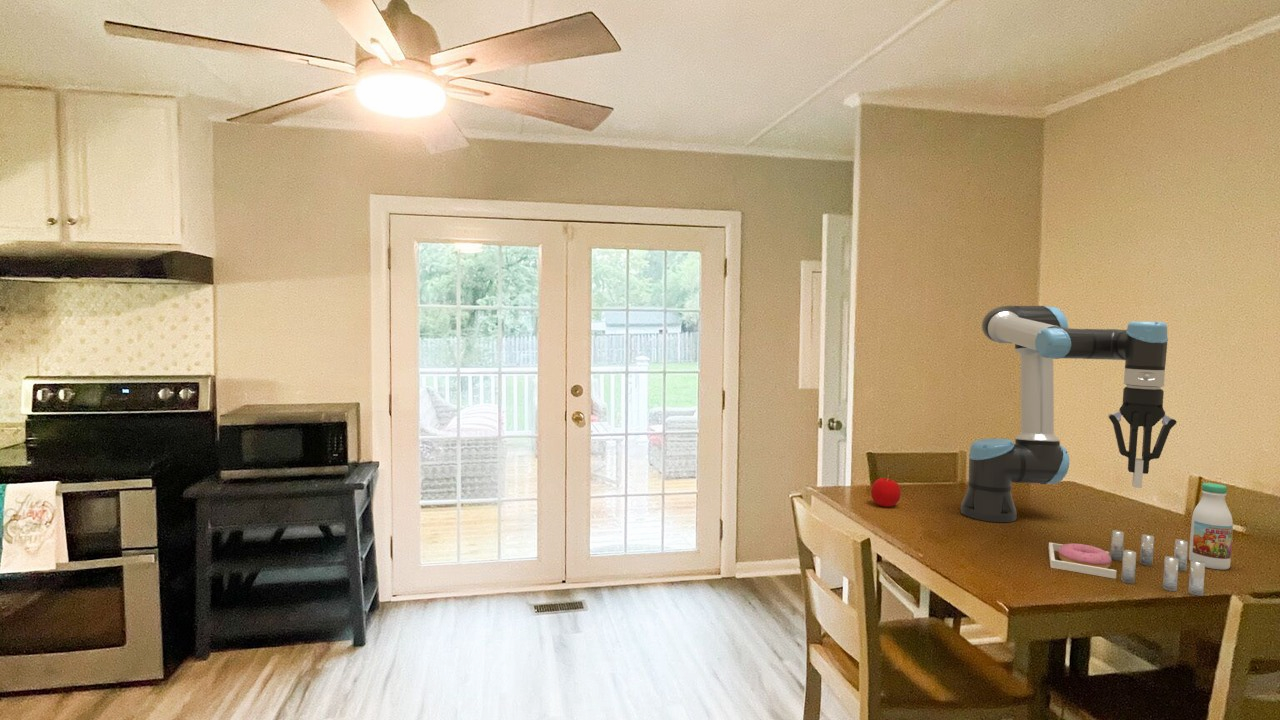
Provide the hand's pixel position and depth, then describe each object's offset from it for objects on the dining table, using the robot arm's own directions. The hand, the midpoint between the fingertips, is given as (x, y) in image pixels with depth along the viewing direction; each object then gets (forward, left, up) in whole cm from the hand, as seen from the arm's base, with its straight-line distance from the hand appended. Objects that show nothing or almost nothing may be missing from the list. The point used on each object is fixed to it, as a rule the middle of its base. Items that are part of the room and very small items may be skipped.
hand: (1136, 486), depth 155 cm
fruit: (-61, +27, -21) cm, 70 cm away
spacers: (+4, -1, -20) cm, 21 cm away
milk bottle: (+17, +16, -21) cm, 32 cm away
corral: (-9, -1, -20) cm, 22 cm away
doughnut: (-9, -1, -21) cm, 23 cm away
